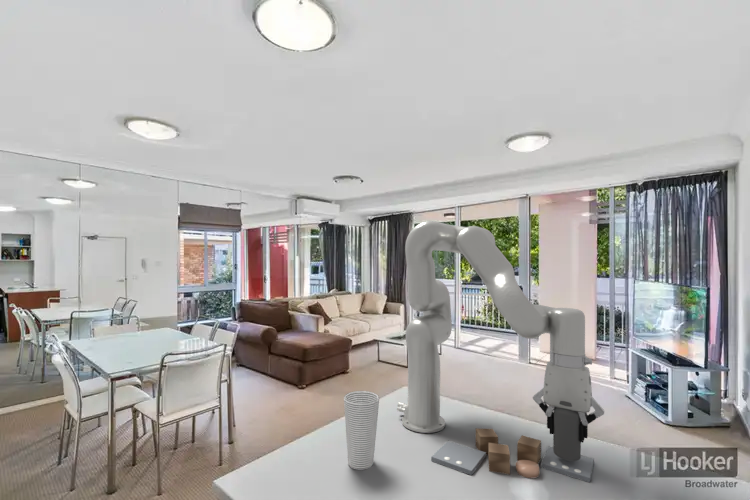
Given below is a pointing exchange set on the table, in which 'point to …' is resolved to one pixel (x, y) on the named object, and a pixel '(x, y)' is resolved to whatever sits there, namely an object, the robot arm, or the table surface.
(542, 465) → the pad three
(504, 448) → the block
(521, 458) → the block
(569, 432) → the bottle
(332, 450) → the table surface
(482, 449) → the block
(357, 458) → the cup
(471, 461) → the pad two
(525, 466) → the peach glossy rounded part
